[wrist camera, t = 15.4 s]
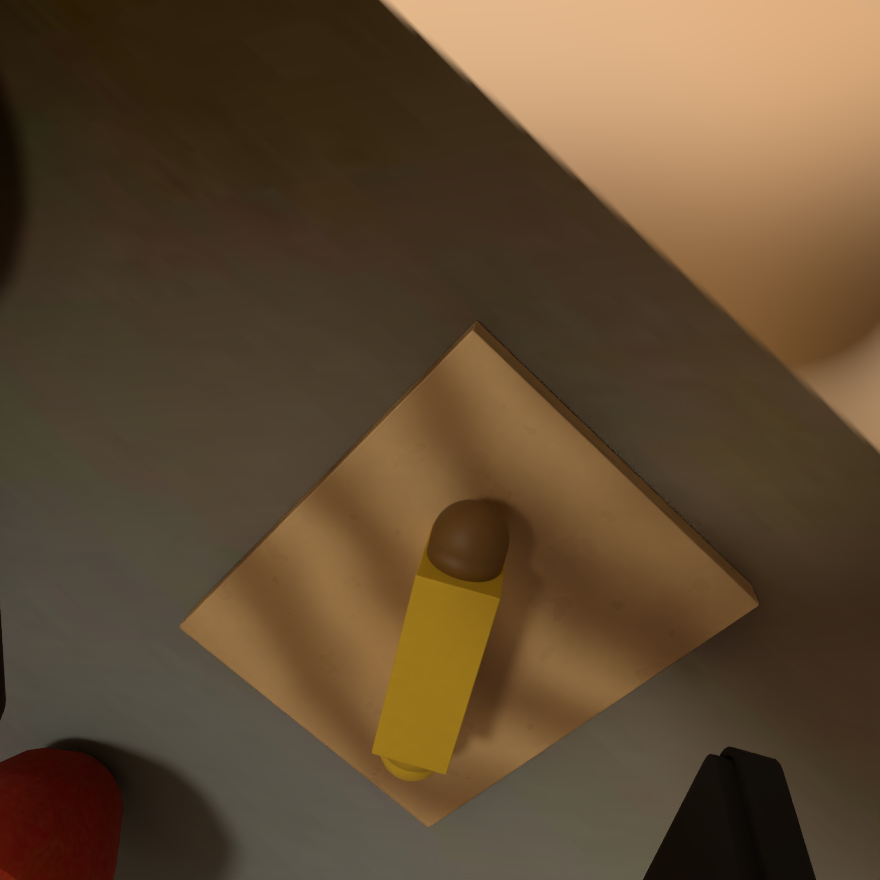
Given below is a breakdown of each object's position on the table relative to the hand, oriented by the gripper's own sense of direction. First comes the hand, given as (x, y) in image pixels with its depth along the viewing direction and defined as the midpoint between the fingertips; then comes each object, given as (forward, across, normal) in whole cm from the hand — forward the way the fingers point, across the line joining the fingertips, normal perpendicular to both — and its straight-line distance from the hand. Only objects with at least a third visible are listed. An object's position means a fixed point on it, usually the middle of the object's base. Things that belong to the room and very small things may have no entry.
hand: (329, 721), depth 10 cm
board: (+21, -1, +13) cm, 25 cm away
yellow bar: (+20, -1, +14) cm, 24 cm away
